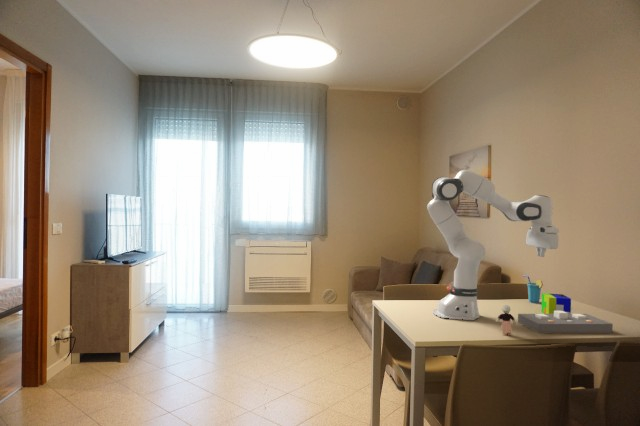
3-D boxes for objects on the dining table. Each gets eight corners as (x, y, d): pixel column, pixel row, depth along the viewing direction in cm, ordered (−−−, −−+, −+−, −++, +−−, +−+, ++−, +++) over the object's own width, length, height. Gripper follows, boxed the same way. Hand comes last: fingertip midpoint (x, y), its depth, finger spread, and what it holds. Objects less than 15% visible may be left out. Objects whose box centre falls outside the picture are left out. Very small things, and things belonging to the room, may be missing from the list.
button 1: (540, 322, 180) (540, 316, 180) (535, 320, 184) (535, 313, 184) (548, 322, 180) (548, 316, 180) (543, 320, 184) (543, 313, 184)
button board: (538, 332, 172) (538, 323, 172) (517, 322, 188) (518, 313, 188) (612, 332, 174) (612, 323, 174) (585, 322, 190) (586, 313, 190)
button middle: (559, 319, 180) (559, 312, 180) (553, 316, 184) (553, 310, 184) (567, 319, 181) (567, 312, 181) (561, 316, 185) (561, 310, 185)
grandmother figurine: (511, 333, 171) (512, 304, 171) (516, 336, 167) (517, 306, 167) (494, 333, 171) (495, 304, 170) (498, 335, 167) (499, 306, 166)
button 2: (577, 322, 181) (578, 316, 181) (571, 320, 185) (572, 313, 185) (586, 322, 181) (586, 316, 181) (580, 320, 185) (580, 313, 185)
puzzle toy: (570, 318, 195) (571, 298, 195) (548, 317, 197) (549, 297, 197) (562, 313, 205) (562, 294, 205) (541, 312, 207) (542, 293, 207)
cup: (517, 299, 234) (518, 274, 234) (526, 298, 237) (527, 273, 237) (539, 305, 221) (539, 278, 221) (548, 304, 224) (548, 278, 224)
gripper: (522, 227, 202) (522, 253, 202) (548, 229, 181) (547, 259, 182) (534, 227, 202) (534, 253, 202) (561, 229, 182) (560, 259, 182)
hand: (540, 256), depth 192 cm, fingers closed
